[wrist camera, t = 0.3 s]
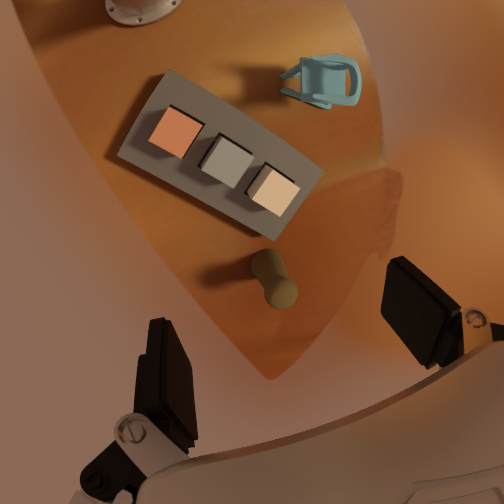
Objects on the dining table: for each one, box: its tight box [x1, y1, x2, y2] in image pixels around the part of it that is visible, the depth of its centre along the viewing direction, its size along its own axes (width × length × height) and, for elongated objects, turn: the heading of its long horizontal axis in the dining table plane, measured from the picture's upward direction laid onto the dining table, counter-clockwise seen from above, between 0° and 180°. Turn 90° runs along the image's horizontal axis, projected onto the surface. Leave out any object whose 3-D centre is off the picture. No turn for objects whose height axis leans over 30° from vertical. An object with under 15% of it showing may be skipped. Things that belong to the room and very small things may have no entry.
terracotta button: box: [148, 107, 203, 159], centre depth 33 cm, size 5×5×4 cm
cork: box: [250, 249, 298, 309], centre depth 46 cm, size 6×6×11 cm
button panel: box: [117, 70, 325, 241], centre depth 39 cm, size 28×14×3 cm, turn 56°
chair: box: [280, 54, 361, 109], centre depth 32 cm, size 8×8×12 cm
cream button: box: [247, 164, 300, 217], centre depth 40 cm, size 5×5×4 cm
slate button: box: [201, 136, 254, 189], centre depth 36 cm, size 5×5×4 cm
